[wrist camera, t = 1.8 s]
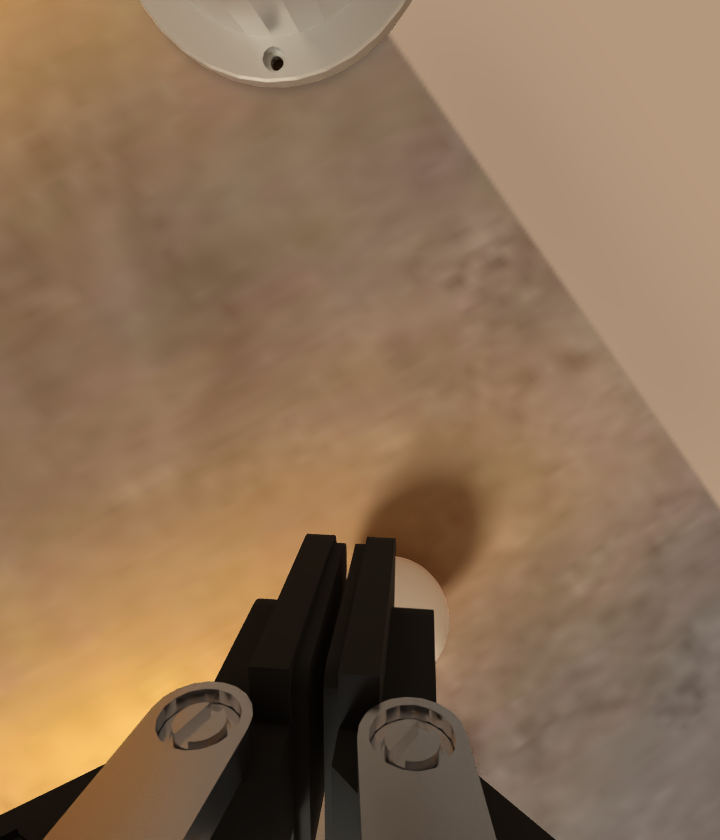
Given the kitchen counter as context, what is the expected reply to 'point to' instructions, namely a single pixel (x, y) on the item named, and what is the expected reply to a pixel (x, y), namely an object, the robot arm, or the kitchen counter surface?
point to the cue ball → (422, 597)
